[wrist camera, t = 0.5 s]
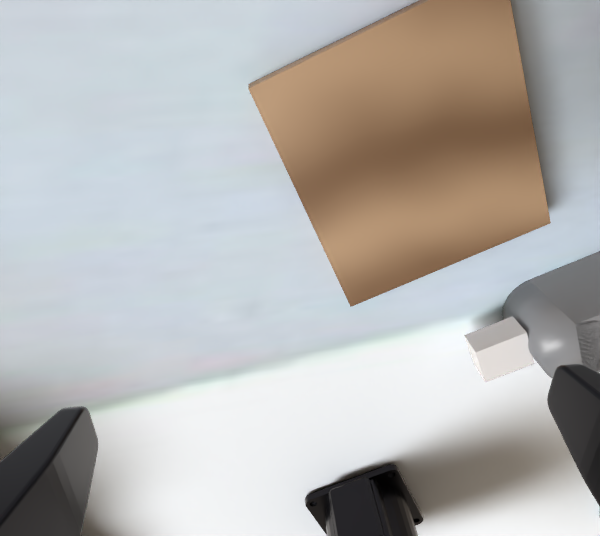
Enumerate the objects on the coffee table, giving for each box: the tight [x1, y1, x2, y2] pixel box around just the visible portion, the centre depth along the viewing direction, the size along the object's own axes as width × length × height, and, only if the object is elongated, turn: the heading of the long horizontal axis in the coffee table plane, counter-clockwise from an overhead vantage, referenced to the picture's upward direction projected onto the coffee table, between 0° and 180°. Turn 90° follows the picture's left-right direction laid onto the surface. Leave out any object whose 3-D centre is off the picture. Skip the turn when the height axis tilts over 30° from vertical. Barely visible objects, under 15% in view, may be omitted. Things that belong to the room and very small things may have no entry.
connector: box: [464, 251, 600, 382], centre depth 24 cm, size 4×12×4 cm, turn 114°
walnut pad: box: [249, 0, 550, 306], centre depth 20 cm, size 11×10×1 cm
